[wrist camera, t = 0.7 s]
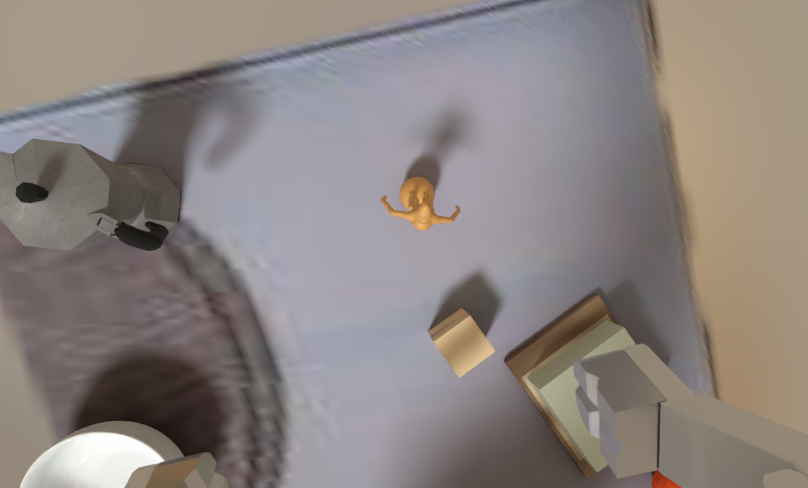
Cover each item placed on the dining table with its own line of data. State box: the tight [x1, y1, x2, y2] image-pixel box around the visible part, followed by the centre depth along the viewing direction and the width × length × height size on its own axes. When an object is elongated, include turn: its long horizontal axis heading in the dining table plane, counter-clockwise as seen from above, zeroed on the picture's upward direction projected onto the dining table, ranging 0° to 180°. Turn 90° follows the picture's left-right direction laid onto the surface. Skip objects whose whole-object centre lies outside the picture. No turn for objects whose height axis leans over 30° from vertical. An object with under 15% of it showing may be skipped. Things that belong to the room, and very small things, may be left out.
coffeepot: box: [0, 139, 180, 251], centre depth 44 cm, size 15×9×18 cm, turn 61°
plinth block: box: [527, 320, 636, 473], centre depth 55 cm, size 12×12×4 cm
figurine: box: [381, 177, 460, 230], centre depth 49 cm, size 8×6×12 cm
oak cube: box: [428, 308, 495, 378], centre depth 54 cm, size 5×5×5 cm
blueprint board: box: [504, 294, 619, 479], centre depth 57 cm, size 18×14×1 cm
